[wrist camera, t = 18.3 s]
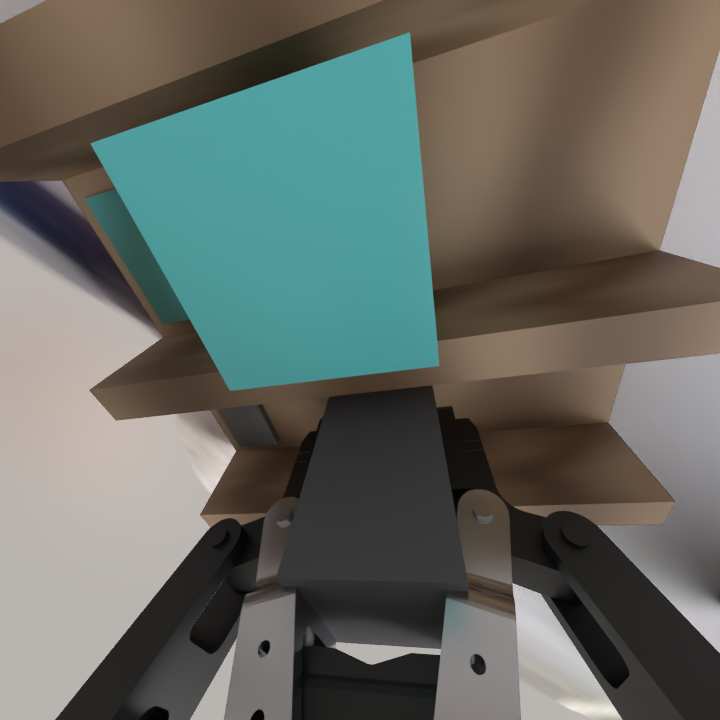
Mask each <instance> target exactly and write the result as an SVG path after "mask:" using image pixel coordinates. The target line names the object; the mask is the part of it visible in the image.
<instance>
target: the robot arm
mask: <svg viewBox="0 0 720 720" xmlns="http://www.w3.org/2000/svg"><path fill="white" fill-rule="evenodd" d="M437 413H438V418H439V424H440V429H441V435H442V441H443V446H444V452H445V457H446V463H447V468H448V474H449V480H450V485H451V491H452V496H453V502H454V507H455V513H456V518H457V524H458V530H459V535H460V541H461V546H462V552H463V557H464V563H465V569H466V574H467V580H468V590H469V592H466V591H453V590H447V597H446V606H445V616H444V626H443V635H442V645H441V655H430V654H416V653H410V654H407V655H404V656H401V657H398V658H394V659H391V660H387V661H384V662H381V663H378V664H374V665H370V664H366V663H365V662H362V661H360V660H358V659H356V658H354V657H352V656H350V655H348V654H346V653H343V652H341V651H339V650H337V649H336V639H335V637H334V636H333V635H332V633H331V632H330V631H329V629H328V628H327V627H326V625H325V624H324V623H323V621H322V620H321V619H320V617H319V616H318V615H317V613H316V612H315V611H314V610H313V608H312V607H311V606H310V604H309V603H308V602H307V600H306V599H305V598H304V596H303V595H302V594H301V592H300V591H299V590H298V588H297V587H296V586H287V587H282V586H281V585H280V583H279V582H278V581H277V580H276V576H277V573H278V569H279V566H280V562H281V559H282V556H283V552H284V549H285V545H286V542H287V539H288V535H289V532H290V528H291V525H292V521H293V518H294V515H295V511H296V508H297V504H298V501H299V498H300V494H301V491H302V487H303V484H304V480H305V477H306V474H307V470H308V467H309V463H310V460H311V457H312V453H313V450H314V446H315V443H316V439H317V436H318V433H319V429H320V426H321V422H322V419H323V418H321V419H320V421H319V424H318V427H317V430H316V431H310V432H309V433H308V435H307V436H306V437H305V438H304V440H303V441H302V443H301V446H300V449H299V454H298V455H297V458H296V463H295V464H294V467H293V470H292V472H291V475H290V478H289V481H288V484H287V487H286V490H285V493H284V496H283V498H282V499H281V500H279V501H277V502H276V503H275V504H274V505H272V507H271V508H270V509H269V510H268V512H267V514H266V516H264V517H262V518H260V519H257V520H254V521H252V522H249V523H246V524H243V525H241V524H240V523H239V522H238V521H237V520H236V519H233V518H227V519H223V520H221V521H219V522H217V523H216V524H214V525H213V526H212V527H211V528H210V529H209V530H208V531H207V532H206V533H205V535H204V536H203V537H202V538H201V540H200V541H199V542H198V543H197V544H196V546H195V547H194V548H193V549H192V551H191V552H190V553H189V554H188V556H187V557H186V558H185V559H184V561H183V562H182V563H181V564H180V566H179V567H178V568H177V570H176V571H175V572H174V573H173V574H172V575H171V577H170V578H169V579H168V580H167V582H166V583H165V584H164V585H163V587H162V588H161V589H160V590H159V592H158V593H157V594H156V595H155V597H154V598H153V599H152V600H151V602H150V603H149V604H148V605H147V607H146V608H145V609H144V610H143V612H142V613H141V614H140V615H139V616H138V618H137V619H136V620H135V621H134V623H133V624H132V625H131V627H130V628H129V629H128V630H127V632H126V633H125V634H124V635H123V636H122V638H121V639H120V640H119V641H118V643H117V644H116V645H115V646H114V648H113V649H112V650H111V651H110V653H109V654H108V655H107V656H106V657H105V659H104V660H103V661H102V663H101V664H100V665H99V666H98V667H97V669H96V670H95V671H94V673H93V674H92V675H91V676H90V677H89V679H88V680H87V681H86V682H85V684H84V685H83V686H82V687H81V689H80V690H79V691H78V692H77V694H76V695H75V696H74V697H73V698H72V700H71V701H70V702H69V703H68V705H67V706H66V707H65V708H64V710H63V711H62V712H61V713H60V715H59V716H58V717H57V718H56V720H190V718H191V716H192V715H193V713H194V711H195V710H196V708H197V706H198V704H199V702H200V700H201V699H202V697H203V696H204V694H205V692H206V690H207V688H208V687H209V685H210V683H211V682H212V680H213V678H214V676H215V675H216V673H217V671H218V669H219V668H220V666H221V664H222V663H223V661H224V659H225V657H226V656H227V654H228V652H229V650H230V649H231V647H232V645H233V643H234V642H235V640H236V638H237V641H236V647H235V653H234V660H233V667H232V672H231V679H230V685H229V691H228V697H227V704H226V710H225V716H224V720H521V714H520V694H519V693H520V692H519V672H518V652H517V631H516V613H515V602H514V597H513V587H512V583H514V584H517V585H519V586H522V587H525V588H527V589H530V590H533V591H535V592H538V593H541V595H542V596H543V598H544V599H545V601H546V602H547V604H548V606H549V607H550V609H551V610H552V612H553V613H554V615H555V616H556V618H557V619H558V621H559V622H560V624H561V625H562V627H563V629H564V630H565V632H566V633H567V635H568V636H569V638H570V639H571V641H572V642H573V644H574V645H575V647H576V649H577V650H578V652H579V653H580V655H581V656H582V658H583V659H584V661H585V662H586V664H587V665H588V667H589V668H590V670H591V672H592V673H593V675H594V676H595V678H596V679H597V681H598V682H599V684H600V685H601V687H602V688H603V690H604V691H605V693H606V695H607V696H608V698H609V699H610V701H611V702H612V704H613V705H614V707H615V708H616V710H617V711H618V713H619V715H620V716H621V718H622V719H623V720H720V653H719V652H718V651H717V650H716V649H715V648H714V647H713V646H712V645H711V644H710V643H709V642H708V641H707V640H706V639H705V638H704V637H703V636H702V635H701V634H700V633H699V631H698V630H697V629H696V628H695V627H694V626H693V625H692V624H691V623H690V622H689V621H688V620H687V619H686V618H685V617H684V616H683V615H682V614H681V613H680V612H679V611H678V610H677V609H676V608H675V606H674V605H673V604H672V603H671V602H670V601H669V600H668V599H667V598H666V597H665V596H664V595H663V594H662V593H661V592H660V591H659V590H658V589H657V588H656V587H655V586H654V585H653V584H652V583H651V582H650V580H649V579H648V578H647V577H646V576H645V575H644V574H643V573H642V572H641V571H640V570H639V569H638V568H637V567H636V566H635V565H634V564H633V563H632V562H631V561H630V560H629V559H628V558H627V557H626V555H625V554H624V553H623V552H622V551H621V550H620V549H619V548H618V547H617V546H616V545H615V544H614V543H613V542H612V541H611V540H610V539H609V538H608V537H607V536H606V535H605V534H604V533H603V532H602V530H601V529H600V528H599V527H598V526H596V525H595V524H594V523H593V522H592V521H590V520H589V519H587V518H586V517H584V516H582V515H580V514H577V513H574V512H570V511H557V512H553V513H551V514H550V515H548V516H547V517H543V516H539V515H536V514H532V513H528V512H525V511H522V510H519V509H517V508H515V507H513V506H512V505H510V504H509V503H508V502H506V501H505V500H504V499H503V497H502V496H501V495H500V493H499V492H498V490H497V488H496V485H495V482H494V478H493V475H492V472H491V469H490V466H489V463H488V460H487V457H486V454H485V451H484V448H483V444H482V441H481V438H480V435H479V432H478V429H477V427H476V426H475V425H474V424H473V423H472V422H471V421H470V419H469V418H462V419H455V415H454V411H453V408H452V406H445V407H437ZM221 583H222V584H221ZM219 586H220V587H219ZM217 589H218V590H217ZM215 592H216V593H215ZM213 595H214V596H213ZM211 598H212V599H211ZM204 608H205V609H204ZM202 611H203V612H202ZM200 614H201V615H200ZM198 617H199V618H198ZM196 620H197V621H196Z"/></svg>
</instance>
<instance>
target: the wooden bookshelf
mask: <svg viewBox="0 0 720 720" xmlns="http://www.w3.org/2000/svg"><path fill="white" fill-rule="evenodd" d="M409 32H410V39H411V50H412V62H413V73H414V84H415V95H416V107H417V118H418V129H419V140H420V152H421V163H422V174H423V186H424V197H425V208H426V219H427V231H428V242H429V253H430V265H431V276H432V287H433V298H434V310H435V321H436V332H437V343H438V355H439V366H435V367H426V368H418V369H410V370H401V371H393V372H385V373H376V374H368V375H359V376H351V377H343V378H334V379H326V380H318V381H309V382H301V383H292V384H284V385H276V386H267V387H259V388H251V389H242V390H234V391H230V390H229V388H228V386H227V384H226V383H225V381H224V379H223V377H222V376H221V374H220V372H219V370H218V369H217V367H216V365H215V363H214V361H213V360H212V358H211V356H210V354H209V353H208V351H207V349H206V347H205V346H204V344H203V342H202V340H201V338H200V337H199V335H198V333H197V331H196V330H195V328H194V326H193V324H192V323H191V321H190V319H189V317H188V315H187V314H186V312H185V310H184V308H183V307H182V305H181V303H180V301H179V300H178V298H177V296H176V294H175V292H174V291H173V289H172V287H171V285H170V284H169V282H168V280H167V278H166V276H165V275H164V273H163V271H162V269H161V268H160V266H159V264H158V262H157V261H156V259H155V257H154V255H153V253H152V252H151V250H150V248H149V246H148V245H147V243H146V241H145V239H144V238H143V236H142V234H141V232H140V230H139V229H138V227H137V225H136V223H135V222H134V220H133V218H132V216H131V215H130V213H129V211H128V209H127V207H126V206H125V204H124V202H123V200H122V199H121V197H120V195H119V193H118V192H117V190H116V188H115V186H114V184H113V183H112V181H111V179H110V177H109V176H108V174H107V172H106V170H105V169H104V167H103V165H102V163H101V161H100V160H99V158H98V156H97V154H96V153H95V151H94V149H93V147H92V146H91V144H90V143H93V142H96V141H99V140H101V139H104V138H107V137H110V136H113V135H116V134H119V133H122V132H124V131H127V130H130V129H133V128H136V127H139V126H142V125H145V124H147V123H150V122H153V121H156V120H159V119H162V118H165V117H168V116H170V115H173V114H176V113H179V112H182V111H185V110H188V109H191V108H193V107H196V106H199V105H202V104H205V103H208V102H211V101H214V100H216V99H219V98H222V97H225V96H228V95H231V94H234V93H237V92H239V91H242V90H245V89H248V88H251V87H254V86H257V85H260V84H263V83H265V82H268V81H271V80H274V79H277V78H280V77H283V76H286V75H288V74H291V73H294V72H297V71H300V70H303V69H306V68H309V67H311V66H314V65H317V64H320V63H323V62H326V61H329V60H332V59H334V58H337V57H340V56H343V55H346V54H349V53H352V52H355V51H357V50H360V49H363V48H366V47H369V46H372V45H375V44H378V43H380V42H383V41H386V40H389V39H392V38H395V37H398V36H401V35H403V34H406V33H409ZM719 50H720V0H47V1H45V2H43V3H41V4H39V5H37V6H35V7H33V8H31V9H29V10H27V11H25V12H23V13H21V14H19V15H17V16H15V17H13V18H11V19H9V20H7V21H5V22H3V23H1V24H0V182H14V181H59V180H62V181H63V183H64V184H65V186H66V187H67V189H68V190H69V192H70V193H71V195H72V197H73V198H74V200H75V201H76V203H77V204H78V206H79V207H80V209H81V211H82V212H83V214H84V215H85V217H86V218H87V220H88V221H89V223H90V225H91V226H92V228H93V229H94V231H95V232H96V234H97V235H98V237H99V238H100V240H101V242H102V243H103V245H104V246H105V248H106V249H107V251H108V252H109V254H110V256H111V257H112V259H113V260H114V262H115V263H116V265H117V266H118V268H119V270H120V271H121V273H122V274H123V276H124V277H125V279H126V280H127V282H128V283H129V285H130V287H131V288H132V290H133V291H134V293H135V294H136V296H137V297H138V299H139V301H140V302H141V304H142V305H143V307H144V308H145V310H146V311H147V313H148V315H149V316H150V318H151V319H152V321H153V322H154V324H155V325H156V327H157V329H158V330H159V332H160V333H161V335H162V336H163V338H162V339H160V340H159V341H158V342H156V343H155V344H154V345H152V346H151V347H149V348H148V349H146V350H145V351H144V352H142V353H141V354H139V355H138V356H137V357H135V358H134V359H132V360H131V361H130V362H128V363H127V364H125V365H124V366H123V367H121V368H120V369H118V370H117V371H115V372H114V373H113V374H111V375H110V376H108V377H107V378H106V379H104V380H103V381H101V382H100V383H98V384H97V385H96V386H95V387H93V388H91V389H90V392H91V393H92V394H93V395H94V396H95V397H96V398H97V400H98V401H99V402H100V403H101V404H102V405H103V406H104V407H105V409H106V410H107V411H108V412H109V413H110V414H111V415H112V416H113V417H114V419H115V420H125V419H134V418H143V417H151V416H160V415H169V414H179V413H188V412H197V411H206V410H210V411H211V412H212V414H213V415H214V417H215V419H216V420H217V422H218V423H219V425H220V426H221V428H222V429H223V431H224V432H225V434H226V436H227V437H228V439H229V440H230V442H231V443H232V445H233V446H234V448H235V450H236V453H235V454H234V456H233V458H232V460H231V461H230V463H229V465H228V467H227V468H226V470H225V472H224V474H223V475H222V477H221V479H220V481H219V482H218V484H217V486H216V488H215V489H214V491H213V493H212V495H211V497H210V498H209V500H208V502H207V503H206V505H205V507H204V509H203V511H202V512H201V514H200V515H201V517H202V518H203V519H204V520H205V521H206V522H207V523H208V525H209V526H210V527H212V526H213V525H214V524H216V523H217V522H219V521H221V520H223V519H227V518H233V519H236V520H237V521H238V522H239V523H240V524H241V525H243V524H246V523H249V522H252V521H254V520H257V519H260V518H262V517H264V516H266V514H267V512H268V510H269V509H270V508H271V507H272V505H274V504H275V503H276V502H277V501H279V500H281V499H282V498H283V496H284V493H285V490H286V487H287V484H288V481H289V478H290V475H291V472H292V470H293V467H294V464H295V463H296V458H297V455H298V454H299V449H300V446H301V443H302V441H303V440H304V438H305V437H306V436H307V435H308V433H309V432H310V431H316V430H317V427H318V424H319V421H320V419H321V418H323V416H324V412H325V409H326V405H327V402H328V399H329V397H331V396H340V395H349V394H358V393H367V392H376V391H385V390H394V389H403V388H412V387H421V386H430V385H433V391H434V396H435V402H436V407H445V406H452V408H453V411H454V415H455V419H462V418H469V419H470V421H471V422H472V423H473V424H474V425H475V426H476V427H477V429H478V432H479V435H480V438H481V441H482V444H483V448H484V451H485V454H486V457H487V460H488V463H489V466H490V469H491V472H492V475H493V478H494V482H495V485H496V488H497V490H498V492H499V493H500V495H501V496H502V497H503V499H504V500H505V501H506V502H508V503H509V504H510V505H512V506H513V507H515V508H517V509H519V510H522V511H525V512H528V513H532V514H536V515H539V516H543V517H547V516H548V515H550V514H551V513H553V512H557V511H570V512H574V513H577V514H580V515H582V516H584V517H586V518H587V519H589V520H590V521H592V522H593V523H594V524H595V525H656V524H663V523H664V522H665V520H666V518H667V516H668V515H669V513H670V511H671V509H672V508H673V506H674V504H675V502H676V501H675V500H674V499H673V498H672V497H671V495H670V494H669V493H668V492H667V491H666V490H665V488H664V487H663V486H662V485H661V484H660V483H659V481H658V480H657V479H656V478H655V477H654V476H653V474H652V473H651V472H650V471H649V470H648V469H647V467H646V466H645V465H644V464H643V463H642V462H641V460H640V459H639V458H638V457H637V456H636V455H635V453H634V452H633V451H632V450H631V449H630V448H629V446H628V445H627V444H626V443H625V442H624V441H623V439H622V438H621V437H620V436H619V435H618V434H617V432H616V431H615V430H614V429H613V428H612V426H611V425H610V424H609V423H608V421H609V417H610V414H611V411H612V407H613V404H614V401H615V397H616V394H617V391H618V387H619V384H620V381H621V377H622V374H623V371H624V367H625V364H628V363H637V362H646V361H655V360H664V359H673V358H682V357H691V356H700V355H709V354H718V353H720V268H718V267H714V266H711V265H708V264H704V263H701V262H697V261H694V260H691V259H687V258H684V257H680V256H677V255H673V254H670V253H667V252H663V251H660V247H661V244H662V240H663V237H664V234H665V230H666V227H667V224H668V220H669V217H670V213H671V210H672V207H673V203H674V200H675V197H676V193H677V190H678V187H679V183H680V180H681V177H682V173H683V170H684V167H685V163H686V160H687V157H688V153H689V150H690V147H691V143H692V140H693V137H694V133H695V130H696V127H697V123H698V120H699V117H700V113H701V110H702V107H703V103H704V100H705V96H706V93H707V90H708V86H709V83H710V80H711V76H712V73H713V70H714V66H715V63H716V60H717V56H718V53H719Z"/></svg>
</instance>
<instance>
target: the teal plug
mask: <svg viewBox="0 0 720 720" xmlns="http://www.w3.org/2000/svg"><path fill="white" fill-rule="evenodd" d="M90 144H91V146H92V147H93V149H94V151H95V153H96V154H97V156H98V158H99V160H100V161H101V163H102V165H103V167H104V169H105V170H106V172H107V174H108V176H109V177H110V179H111V181H112V183H113V184H114V186H115V188H116V190H117V192H118V193H119V195H120V197H121V199H122V200H123V202H124V204H125V206H126V207H127V209H128V211H129V213H130V215H131V216H132V218H133V220H134V222H135V223H136V225H137V227H138V229H139V230H140V232H141V234H142V236H143V238H144V239H145V241H146V243H147V245H148V246H149V248H150V250H151V252H152V253H153V255H154V257H155V259H156V261H157V262H158V264H159V266H160V268H161V269H162V271H163V273H164V275H165V276H166V278H167V280H168V282H169V284H170V285H171V287H172V289H173V291H174V292H175V294H176V296H177V298H178V300H179V301H180V303H181V305H182V307H183V308H184V310H185V312H186V314H187V315H188V317H189V319H190V321H191V323H192V324H193V326H194V328H195V330H196V331H197V333H198V335H199V337H200V338H201V340H202V342H203V344H204V346H205V347H206V349H207V351H208V353H209V354H210V356H211V358H212V360H213V361H214V363H215V365H216V367H217V369H218V370H219V372H220V374H221V376H222V377H223V379H224V381H225V383H226V384H227V386H228V388H229V390H230V391H234V390H242V389H251V388H259V387H267V386H276V385H284V384H292V383H301V382H309V381H318V380H326V379H334V378H343V377H351V376H359V375H368V374H376V373H385V372H393V371H401V370H410V369H418V368H426V367H435V366H439V355H438V343H437V332H436V321H435V310H434V298H433V287H432V276H431V265H430V253H429V242H428V231H427V219H426V208H425V197H424V186H423V174H422V163H421V152H420V140H419V129H418V118H417V107H416V95H415V84H414V73H413V62H412V50H411V39H410V32H409V33H406V34H403V35H401V36H398V37H395V38H392V39H389V40H386V41H383V42H380V43H378V44H375V45H372V46H369V47H366V48H363V49H360V50H357V51H355V52H352V53H349V54H346V55H343V56H340V57H337V58H334V59H332V60H329V61H326V62H323V63H320V64H317V65H314V66H311V67H309V68H306V69H303V70H300V71H297V72H294V73H291V74H288V75H286V76H283V77H280V78H277V79H274V80H271V81H268V82H265V83H263V84H260V85H257V86H254V87H251V88H248V89H245V90H242V91H239V92H237V93H234V94H231V95H228V96H225V97H222V98H219V99H216V100H214V101H211V102H208V103H205V104H202V105H199V106H196V107H193V108H191V109H188V110H185V111H182V112H179V113H176V114H173V115H170V116H168V117H165V118H162V119H159V120H156V121H153V122H150V123H147V124H145V125H142V126H139V127H136V128H133V129H130V130H127V131H124V132H122V133H119V134H116V135H113V136H110V137H107V138H104V139H101V140H99V141H96V142H93V143H90Z"/></svg>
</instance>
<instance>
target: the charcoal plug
mask: <svg viewBox="0 0 720 720" xmlns="http://www.w3.org/2000/svg"><path fill="white" fill-rule="evenodd" d="M276 580H277V581H278V582H279V583H280V585H281V586H282V587H287V586H296V587H297V588H298V590H299V591H300V592H301V594H302V595H303V596H304V598H305V599H306V600H307V602H308V603H309V604H310V606H311V607H312V608H313V610H314V611H315V612H316V613H317V615H318V616H319V617H320V619H321V620H322V621H323V623H324V624H325V625H326V627H327V628H328V629H329V631H330V632H331V633H332V635H333V636H334V637H335V639H336V642H344V643H358V644H375V645H390V646H405V647H420V648H436V649H441V645H442V635H443V626H444V616H445V606H446V597H447V590H453V591H466V592H469V590H468V580H467V574H466V569H465V563H464V557H463V552H462V546H461V541H460V535H459V530H458V524H457V518H456V513H455V507H454V502H453V496H452V491H451V485H450V480H449V474H448V468H447V463H446V457H445V452H444V446H443V441H442V435H441V429H440V424H439V418H438V413H437V407H436V402H435V396H434V391H433V385H430V386H421V387H412V388H403V389H394V390H385V391H376V392H367V393H358V394H349V395H340V396H331V397H329V399H328V402H327V405H326V409H325V412H324V416H323V419H322V422H321V426H320V429H319V433H318V436H317V439H316V443H315V446H314V450H313V453H312V457H311V460H310V463H309V467H308V470H307V474H306V477H305V480H304V484H303V487H302V491H301V494H300V498H299V501H298V504H297V508H296V511H295V515H294V518H293V521H292V525H291V528H290V532H289V535H288V539H287V542H286V545H285V549H284V552H283V556H282V559H281V562H280V566H279V569H278V573H277V576H276Z"/></svg>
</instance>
